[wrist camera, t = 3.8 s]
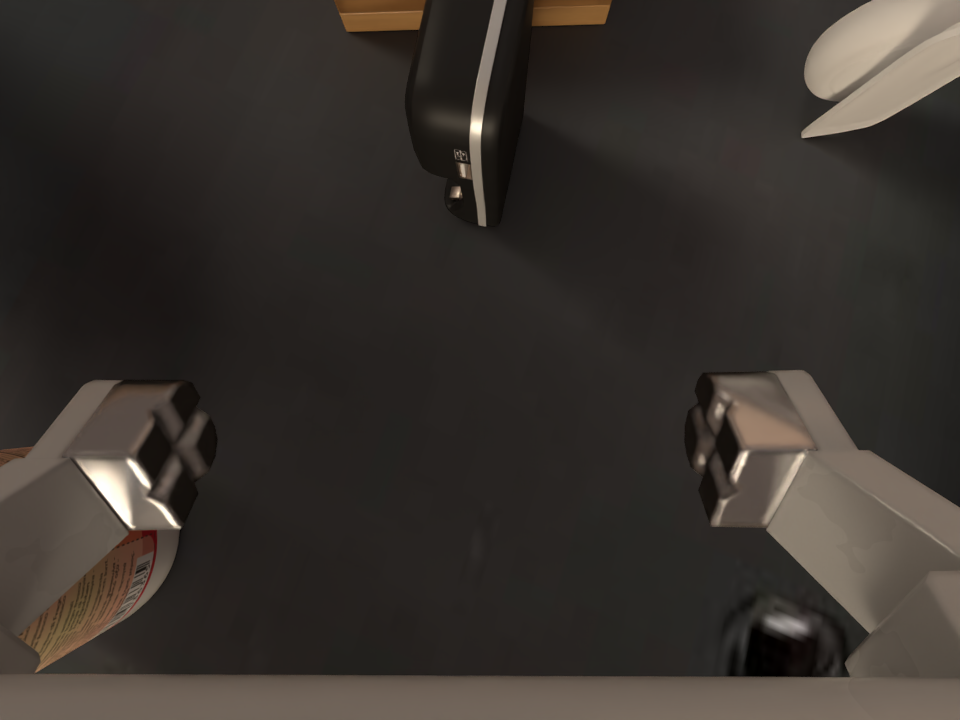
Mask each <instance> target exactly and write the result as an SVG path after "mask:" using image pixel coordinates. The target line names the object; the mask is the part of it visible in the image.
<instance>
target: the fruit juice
mask: <svg viewBox="0 0 960 720" xmlns="http://www.w3.org/2000/svg"><path fill="white" fill-rule="evenodd" d="M32 448H33V447H25V448H15V449H6V450H0V467H1V466H3V465H4V464H6V463H8V462H9V461H11V460H13V459H15V458H25V457H26V456H27V455H28V453H29V452H30V451H31V450H32ZM128 532H129V534H128V535H127V536H126V537H125V538H124V539H123V540H122V541H121V542H120V543H119V544H118V545H116V546H115V547H114V548H113V549H112V550H111V551H110V552H109V553H108V554H107V555H106V556H104V557H103V558H102V559H101V560H100V561H99V562H98V563H97V564H96V565H95V566H94V567H93V568H91V569H90V570H89V571H88V572H87V573H86V574H85V575H84V576H83V577H82V578H81V579H80V580H78V581H77V582H76V583H75V584H74V585H73V586H72V587H71V588H70V589H69V590H68V591H67V592H65V593H64V594H63V595H62V596H61V597H60V598H59V599H58V600H57V601H56V602H55V603H53V604H52V605H51V606H50V607H49V608H48V609H47V610H46V611H45V612H44V613H43V614H42V615H40V616H39V617H38V618H37V619H36V620H35V621H34V622H33V623H32V624H31V625H30V626H29V627H27V628H26V629H25V630H24V631H23V632H22V633H21V634H20V635H19V636H18V638H20V639H21V640H22V641H24V642H25V643H26V644H28V645H29V646H30V647H32V648H33V649H34V650H36V651H37V652H38V653H39V656H40V660H41V662H40V664H39V666H38V668H37V669H36V671H35V673H36V672H38V671H39V670H41V669H43V668H44V667H46V666H48V665H49V664H51V663H53V662H54V661H56V660H58V659H59V658H61V657H63V656H64V655H66V654H68V653H69V652H71V651H73V650H74V649H76V648H78V647H79V646H81V645H83V644H84V643H86V642H88V641H89V640H91V639H93V638H94V637H96V636H98V635H99V634H101V633H103V632H104V631H106V630H108V629H109V628H111V627H113V626H114V625H116V624H118V623H119V622H121V621H123V620H124V619H126V618H127V617H129V616H130V615H132V614H133V613H134V612H135V611H137V610H138V609H139V608H140V607H141V606H142V605H144V604H145V603H146V602H147V601H148V600H149V599H150V598H151V597H152V596H153V595H154V594H155V592H156V591H157V590H158V589H159V587H160V586H161V584H162V583H163V581H164V580H165V578H166V577H167V575H168V573H169V571H170V569H171V567H172V564H173V562H174V559H175V556H176V552H177V548H178V542H179V529H167V530H136V531H128Z"/></svg>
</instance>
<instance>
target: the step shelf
mask: <svg viewBox="0 0 960 720" xmlns="http://www.w3.org/2000/svg"><path fill="white" fill-rule="evenodd" d="M334 1H335V4H336V6H337V9H338V11H339V14H340V16H341V18H342V21H343V23H344V26H345V28H346V31H347V32H360V31H393V30H419V27H420V23H421V19H422V14H423V10H424V6H425V2H426V0H334ZM611 2H612V0H534V7H533V18H532V26H557V25H590V24H605V22H606V19H607V16H608V12H609V9H610V5H611Z"/></svg>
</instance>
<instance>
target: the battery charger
mask: <svg viewBox="0 0 960 720" xmlns="http://www.w3.org/2000/svg"><path fill="white" fill-rule="evenodd" d="M533 7H534V0H426V2H425V6H424V10H423V14H422V19H421V23H420V27H419V32H418V36H417V41H416V45H415V50H414V54H413V59H412V64H411V68H410V73H409V77H408V82H407V87H406V94H405V110H406V116H407V121H408V126H409V131H410V135H411V140H412V144H413V148H414V151H415V153H416V155H417V157H418V160H419V162H420V164H421V166H422V167H423V169H425V170H426V171H428V172H430V173H431V174H434V175H437V176H441V177H445V178H448V179H447V183H446V188H445V197H444V198H445V204H446V206H447V208H448V210H449V211H450V212H451V213H452V214H454V215H455V216H457V217H458V218H461V219H463V220H466V221H469V222H474V223H478V225H480V226H485V227H486V226H487V225H489V226H497V225H498V224H499V223H500V220H501V217H502V212H503V207H504V203H505V198H506V193H507V189H508V184H509V179H510V175H511V170H512V165H513V160H514V156H515V151H516V146H517V142H518V137H519V132H520V127H521V123H522V118H523V111H524V100H525V89H526V79H527V69H528V60H529V50H530V39H531V29H532V18H533Z"/></svg>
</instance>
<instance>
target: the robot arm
mask: <svg viewBox="0 0 960 720" xmlns="http://www.w3.org/2000/svg"><path fill="white" fill-rule="evenodd" d="M695 394H696V396H697V399H698V402H699V403H698V404H696V405H695V406H694V407H692V408H691V409H690V410H689V411H688V415H687V418H686V422H685V438H684V442H685V448H686V454H687V457H688V460H689V463H690V467H691V468H692V469H694V470H695V471H696V472H697V473H698V474H700V475H701V476H702V477H703V478H702V481H701V484H700V487H699V490H698V491H699V494H700V497H701V499H702V502H703V505H704V508H705V511H706V514H707V517H708V520H709V523H710V526H715V527H763V528H767V531H768V532H769V533H770V534H771V535H772V536H773V537H774V538H775V539H776V540H777V541H778V542H779V543H780V544H781V545H782V546H783V547H784V548H785V549H786V550H787V551H788V552H789V553H790V554H791V555H792V556H793V557H794V558H795V559H796V560H797V561H798V562H799V563H800V564H801V565H802V566H803V567H804V568H805V569H806V570H807V571H808V572H809V573H810V574H811V575H812V576H813V577H814V578H815V579H816V580H817V581H818V582H819V583H820V584H821V585H822V586H823V587H824V588H825V589H826V590H827V591H828V592H829V593H830V594H831V595H832V596H833V597H834V598H835V599H836V600H837V601H838V602H839V603H840V604H841V605H842V606H843V607H844V608H845V609H846V610H847V611H848V612H849V613H850V614H851V615H852V616H853V617H854V618H855V619H856V620H857V621H858V622H859V623H860V624H861V625H862V626H863V627H864V628H865V629H866V630H867V631H868V632H869V633H870V634H869V635H868V636H867V637H866V638H865V639H864V640H863V642H862V643H861V644H860V645H859V646H858V647H857V648H856V649H855V650H854V651H853V652H852V653H851V654H850V656H849V657H848V659H847V660H846V662H845V665H846V668H847V670H848V672H849V674H850V677H666V676H432V675H188V674H34V673H35V671H36V669H37V668H38V666H39V664H40V662H41V660H40V656H39V653H38V652H37V651H36V650H34V649H33V648H32V647H30V646H29V645H28V644H26V643H25V642H24V641H22V640H21V639H20V638H18V636H19V635H20V634H21V633H22V632H23V631H24V630H25V629H26V628H27V627H29V626H30V625H31V624H32V623H33V622H34V621H35V620H36V619H37V618H38V617H39V616H40V615H42V614H43V613H44V612H45V611H46V610H47V609H48V608H49V607H50V606H51V605H52V604H53V603H55V602H56V601H57V600H58V599H59V598H60V597H61V596H62V595H63V594H64V593H65V592H67V591H68V590H69V589H70V588H71V587H72V586H73V585H74V584H75V583H76V582H77V581H78V580H80V579H81V578H82V577H83V576H84V575H85V574H86V573H87V572H88V571H89V570H90V569H91V568H93V567H94V566H95V565H96V564H97V563H98V562H99V561H100V560H101V559H102V558H103V557H104V556H106V555H107V554H108V553H109V552H110V551H111V550H112V549H113V548H114V547H115V546H116V545H118V544H119V543H120V542H121V541H122V540H123V539H124V538H125V537H126V536H127V535H128V534H129V532H128V531H136V530H167V529H182V527H183V525H184V523H185V521H186V519H187V517H188V515H189V513H190V510H191V508H192V506H193V504H194V502H195V500H196V498H197V496H198V491H197V488H196V486H195V483H194V482H196V481H197V480H198V479H200V478H201V477H202V476H203V475H205V474H206V473H207V472H209V470H210V468H211V465H212V463H213V461H214V459H215V456H216V448H217V440H218V439H217V434H216V429H215V425H214V423H213V421H212V419H211V417H210V416H209V415H207V414H206V413H204V412H203V411H201V410H200V409H199V408H197V407H196V406H197V404H198V402H199V399H200V396H199V394H198V392H197V390H196V389H195V387H194V385H193V383H191V382H188V381H184V380H93V381H91V382H89V383H86V384H84V385H83V386H82V387H81V389H80V390H79V391H78V392H77V394H76V395H75V396H74V397H73V399H72V400H71V401H70V402H69V404H68V405H67V406H66V407H65V409H64V410H63V411H62V412H61V414H60V415H59V416H58V417H57V418H56V420H55V421H54V422H53V423H52V425H51V426H50V427H49V428H48V430H47V431H46V432H45V433H44V435H43V436H42V437H41V438H40V440H39V441H38V442H37V443H36V445H35V446H34V447H33V448H32V450H31V451H30V452H29V453H28V455H27V456H26V457H25V458H15V459H13V460H11V461H9V462H8V463H6V464H4V465H3V466H1V467H0V720H960V508H959V507H958V506H956V505H955V504H953V503H952V502H950V501H948V500H947V499H945V498H944V497H942V496H941V495H939V494H937V493H936V492H934V491H933V490H931V489H929V488H928V487H926V486H925V485H923V484H922V483H920V482H918V481H917V480H915V479H914V478H912V477H910V476H909V475H907V474H906V473H904V472H903V471H901V470H899V469H898V468H896V467H895V466H893V465H891V464H890V463H888V462H887V461H885V460H884V459H882V458H880V457H879V456H877V455H876V454H874V453H873V452H871V451H869V450H858V449H857V447H856V446H855V444H854V442H853V441H852V439H851V438H850V436H849V435H848V433H847V431H846V430H845V428H844V427H843V425H842V424H841V422H840V421H839V419H838V417H837V416H836V414H835V413H834V411H833V410H832V408H831V407H830V405H829V403H828V402H827V400H826V399H825V397H824V396H823V394H822V393H821V391H820V389H819V388H818V386H817V385H816V383H815V382H814V380H813V378H812V377H811V375H810V374H808V373H807V372H805V371H804V370H780V371H768V372H766V371H755V372H709V373H702V375H701V376H700V377H699V379H698V381H697V384H696V388H695Z"/></svg>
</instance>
